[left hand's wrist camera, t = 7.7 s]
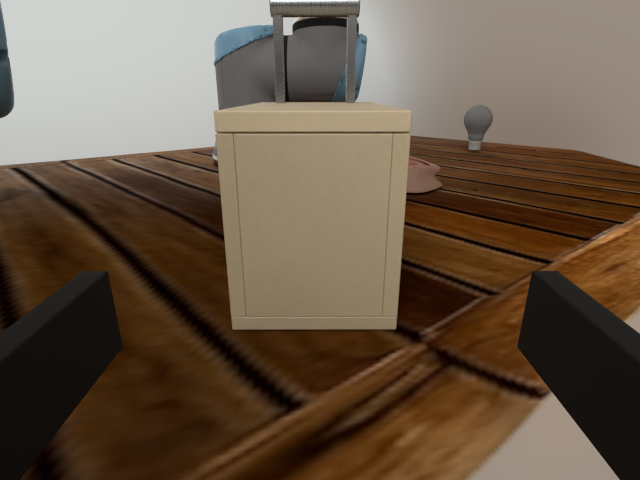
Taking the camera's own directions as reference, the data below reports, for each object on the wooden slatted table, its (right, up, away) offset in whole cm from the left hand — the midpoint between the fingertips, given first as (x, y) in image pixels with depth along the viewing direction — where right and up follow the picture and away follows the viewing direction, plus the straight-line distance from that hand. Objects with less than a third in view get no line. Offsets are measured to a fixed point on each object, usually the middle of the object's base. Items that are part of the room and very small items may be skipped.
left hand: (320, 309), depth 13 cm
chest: (0, 0, +19) cm, 19 cm away
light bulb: (+35, +22, +80) cm, 90 cm away
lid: (0, +10, +15) cm, 18 cm away
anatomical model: (+12, +11, +48) cm, 51 cm away
